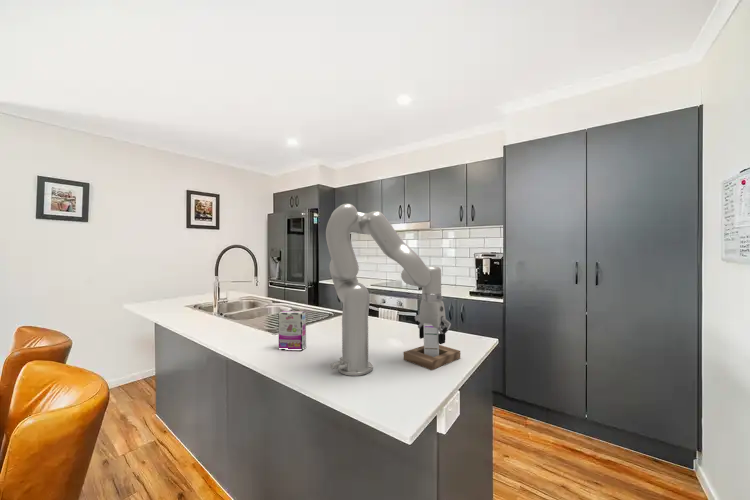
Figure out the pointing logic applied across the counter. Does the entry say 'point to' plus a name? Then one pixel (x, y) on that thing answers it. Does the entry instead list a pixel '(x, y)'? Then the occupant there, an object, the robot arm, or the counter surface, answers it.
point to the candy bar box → (292, 329)
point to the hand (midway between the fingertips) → (431, 340)
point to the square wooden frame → (431, 362)
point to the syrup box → (431, 340)
